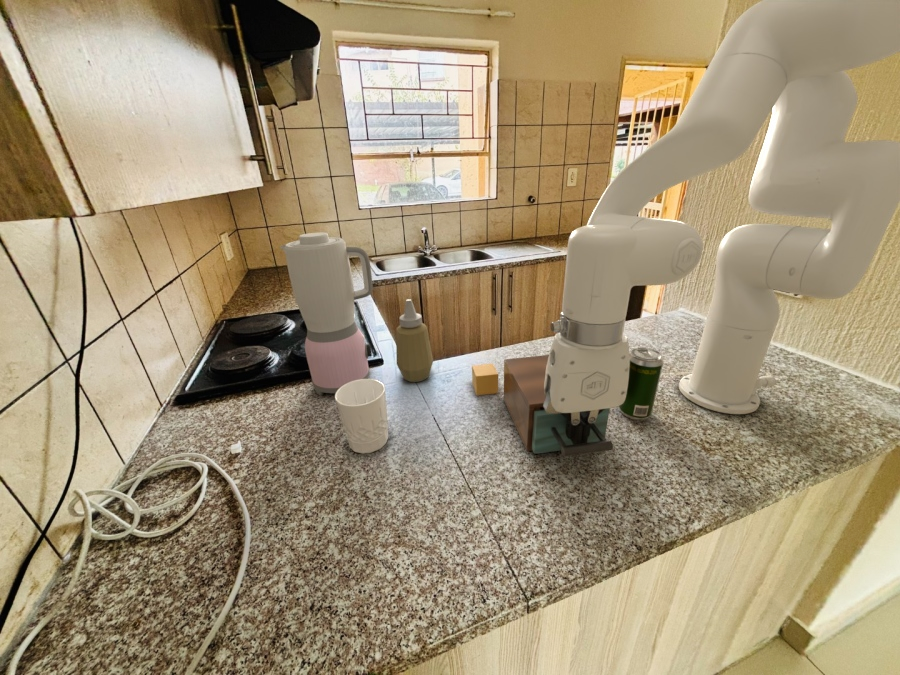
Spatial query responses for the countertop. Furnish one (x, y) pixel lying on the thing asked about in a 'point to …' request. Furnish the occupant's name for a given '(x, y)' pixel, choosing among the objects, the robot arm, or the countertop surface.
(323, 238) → the blender
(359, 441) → the white cup
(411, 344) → the squeeze bottle
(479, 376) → the mustard brown cube
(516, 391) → the wooden drawer cabinet
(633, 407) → the beer can
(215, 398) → the countertop surface
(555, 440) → the open teal drawer
